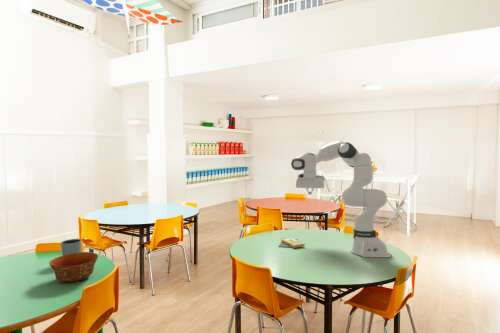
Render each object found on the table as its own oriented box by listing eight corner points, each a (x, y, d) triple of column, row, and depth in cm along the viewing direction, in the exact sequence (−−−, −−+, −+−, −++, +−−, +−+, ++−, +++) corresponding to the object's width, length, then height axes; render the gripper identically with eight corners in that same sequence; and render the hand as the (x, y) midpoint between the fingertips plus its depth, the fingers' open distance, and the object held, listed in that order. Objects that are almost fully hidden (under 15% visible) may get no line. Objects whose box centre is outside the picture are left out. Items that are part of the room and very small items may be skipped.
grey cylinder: (85, 261, 185) (85, 240, 185) (68, 266, 177) (67, 244, 176) (75, 258, 190) (74, 238, 190) (57, 263, 182) (56, 242, 181)
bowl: (71, 290, 146) (71, 268, 145) (39, 283, 154) (38, 262, 153) (108, 274, 165) (107, 254, 165) (77, 268, 173) (76, 250, 173)
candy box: (291, 240, 226) (281, 241, 222) (291, 237, 226) (281, 238, 222) (304, 246, 211) (293, 247, 208) (304, 243, 211) (293, 244, 208)
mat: (297, 239, 229) (297, 239, 229) (294, 247, 210) (294, 247, 210) (283, 239, 231) (283, 238, 231) (279, 246, 212) (279, 246, 212)
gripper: (324, 175, 237) (324, 194, 237) (296, 174, 242) (296, 193, 242) (324, 175, 231) (324, 195, 231) (295, 175, 236) (295, 194, 236)
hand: (309, 194), depth 237 cm, fingers closed
